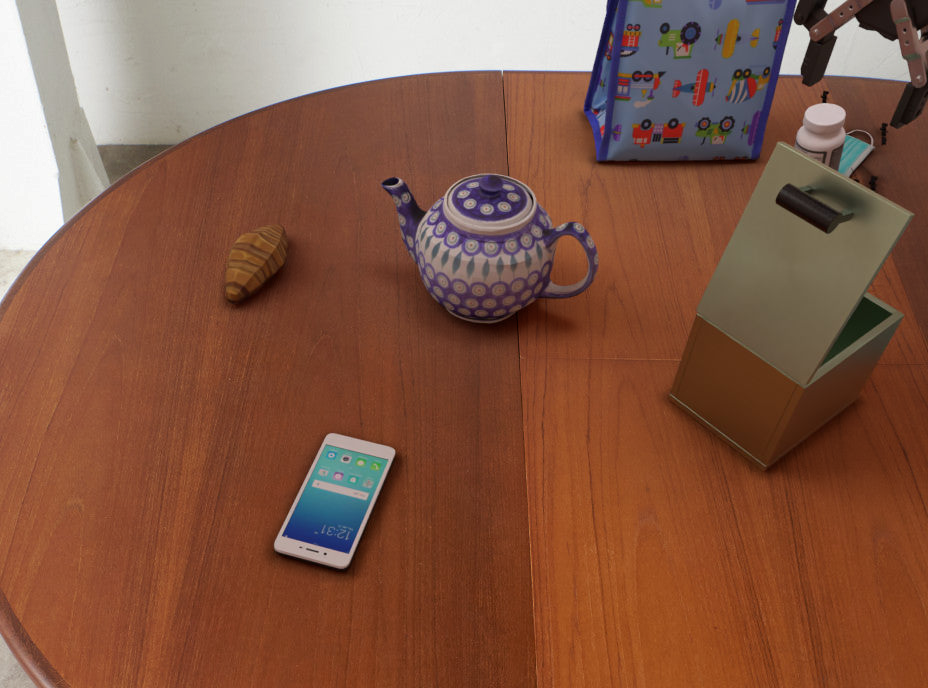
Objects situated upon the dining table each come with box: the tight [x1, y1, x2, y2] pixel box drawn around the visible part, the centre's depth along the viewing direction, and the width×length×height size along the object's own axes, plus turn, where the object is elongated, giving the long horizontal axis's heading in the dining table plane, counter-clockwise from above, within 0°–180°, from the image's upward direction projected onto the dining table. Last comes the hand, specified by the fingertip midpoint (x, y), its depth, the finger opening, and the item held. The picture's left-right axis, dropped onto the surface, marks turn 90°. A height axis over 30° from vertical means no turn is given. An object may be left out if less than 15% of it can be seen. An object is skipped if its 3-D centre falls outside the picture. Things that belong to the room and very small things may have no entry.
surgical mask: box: [820, 90, 889, 194], centre depth 124 cm, size 21×4×10 cm
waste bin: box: [667, 291, 905, 472], centre depth 94 cm, size 16×13×12 cm
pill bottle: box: [793, 102, 847, 171], centre depth 117 cm, size 6×6×10 cm
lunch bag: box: [583, 0, 798, 162], centre depth 116 cm, size 22×14×29 cm, turn 93°
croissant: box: [223, 224, 289, 305], centre depth 108 cm, size 14×7×5 cm, turn 161°
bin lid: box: [695, 140, 916, 386], centre depth 79 cm, size 16×13×5 cm
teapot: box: [380, 173, 600, 324], centre depth 102 cm, size 25×15×15 cm, turn 63°
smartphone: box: [273, 432, 396, 572], centre depth 89 cm, size 8×1×15 cm
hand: (853, 102), depth 79 cm, fingers open, 8 cm apart
